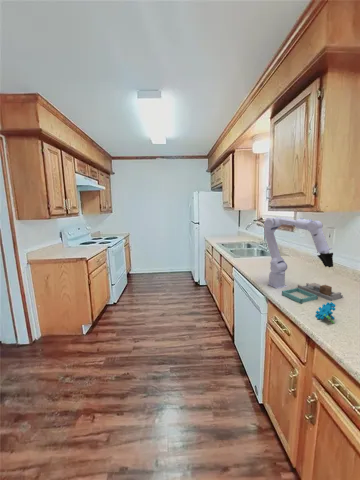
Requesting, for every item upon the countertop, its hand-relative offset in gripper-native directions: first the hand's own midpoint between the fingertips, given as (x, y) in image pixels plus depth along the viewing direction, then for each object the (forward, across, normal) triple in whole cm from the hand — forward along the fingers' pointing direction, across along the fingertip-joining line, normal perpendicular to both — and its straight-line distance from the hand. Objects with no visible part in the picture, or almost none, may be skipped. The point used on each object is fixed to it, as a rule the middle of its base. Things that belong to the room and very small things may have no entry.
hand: (329, 266), depth 124 cm
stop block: (+16, +10, +5) cm, 19 cm away
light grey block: (+13, +16, +9) cm, 23 cm away
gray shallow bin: (+15, +13, +7) cm, 21 cm away
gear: (+21, -18, +12) cm, 30 cm away
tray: (+13, +4, +19) cm, 23 cm away
